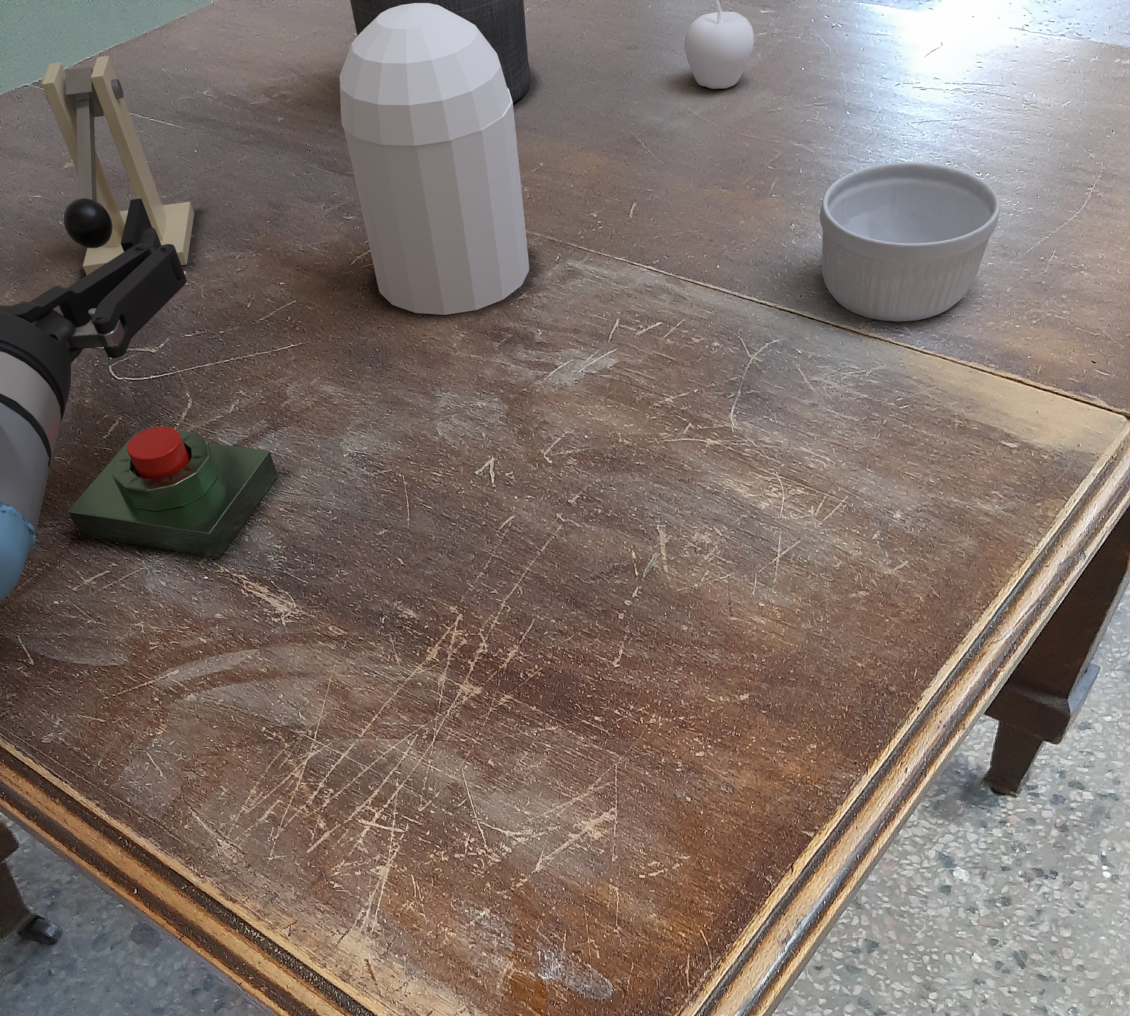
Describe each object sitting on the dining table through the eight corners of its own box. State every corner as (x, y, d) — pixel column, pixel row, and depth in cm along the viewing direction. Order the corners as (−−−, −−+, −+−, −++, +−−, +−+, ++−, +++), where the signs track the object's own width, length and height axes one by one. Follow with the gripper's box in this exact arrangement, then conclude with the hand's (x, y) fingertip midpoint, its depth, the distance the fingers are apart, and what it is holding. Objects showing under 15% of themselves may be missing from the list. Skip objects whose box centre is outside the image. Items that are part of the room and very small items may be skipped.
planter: (337, 97, 119) (300, -77, 107) (462, 46, 126) (440, -123, 114) (436, 141, 111) (407, -43, 98) (564, 83, 117) (553, -95, 105)
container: (485, 326, 88) (446, 51, 72) (346, 300, 92) (282, 34, 77) (554, 247, 95) (533, -19, 80) (423, 226, 100) (378, -31, 84)
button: (126, 476, 73) (116, 455, 72) (153, 444, 75) (143, 423, 74) (172, 483, 72) (163, 461, 71) (198, 450, 74) (189, 429, 73)
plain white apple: (682, 71, 117) (684, -15, 111) (749, 67, 116) (754, -20, 110) (684, 98, 113) (686, 10, 106) (753, 94, 112) (759, 5, 106)
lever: (120, 254, 88) (101, 220, 84) (76, 261, 88) (55, 226, 84) (114, 96, 93) (96, 58, 90) (72, 102, 93) (53, 64, 90)
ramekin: (891, 352, 82) (908, 262, 76) (777, 283, 89) (785, 197, 84) (1015, 291, 86) (1039, 203, 80) (896, 230, 93) (911, 145, 88)
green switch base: (80, 536, 75) (55, 489, 72) (146, 457, 80) (125, 411, 77) (219, 558, 73) (199, 511, 70) (278, 476, 78) (262, 428, 75)
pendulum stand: (187, 264, 98) (123, 85, 87) (87, 278, 98) (10, 100, 86) (194, 213, 104) (136, 40, 93) (101, 226, 104) (30, 54, 92)
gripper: (-179, 482, 67) (-98, 305, 80) (223, 422, 68) (238, 257, 81) (-261, 373, 61) (-159, 202, 74) (181, 309, 62) (204, 151, 75)
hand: (48, 231), depth 78 cm, fingers open, 13 cm apart
